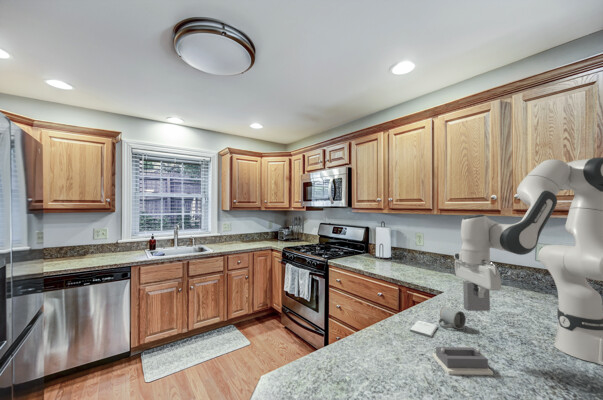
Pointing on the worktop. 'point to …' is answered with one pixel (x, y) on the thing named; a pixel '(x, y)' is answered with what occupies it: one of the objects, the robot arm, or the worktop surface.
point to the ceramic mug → (452, 318)
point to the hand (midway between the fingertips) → (476, 295)
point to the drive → (475, 298)
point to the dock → (462, 360)
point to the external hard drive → (424, 328)
